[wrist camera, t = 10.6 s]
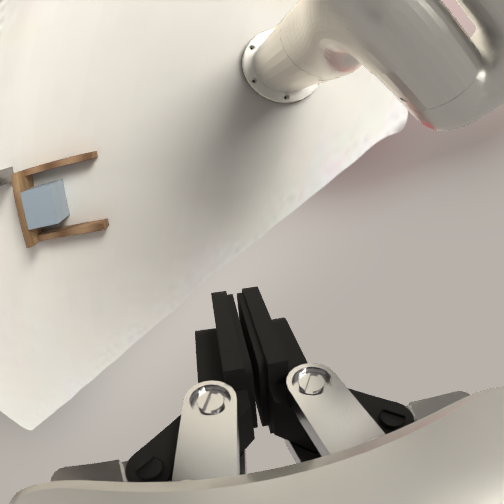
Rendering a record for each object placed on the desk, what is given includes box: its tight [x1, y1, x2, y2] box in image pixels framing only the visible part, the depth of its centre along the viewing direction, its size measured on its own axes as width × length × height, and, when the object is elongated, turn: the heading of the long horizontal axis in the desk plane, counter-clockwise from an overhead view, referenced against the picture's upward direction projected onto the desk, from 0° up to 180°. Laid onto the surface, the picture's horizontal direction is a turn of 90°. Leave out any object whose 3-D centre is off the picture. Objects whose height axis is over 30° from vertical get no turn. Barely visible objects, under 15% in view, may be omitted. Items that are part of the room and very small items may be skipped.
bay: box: [11, 151, 109, 248], centre depth 39 cm, size 14×12×5 cm
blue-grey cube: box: [20, 179, 70, 230], centre depth 39 cm, size 6×6×5 cm
